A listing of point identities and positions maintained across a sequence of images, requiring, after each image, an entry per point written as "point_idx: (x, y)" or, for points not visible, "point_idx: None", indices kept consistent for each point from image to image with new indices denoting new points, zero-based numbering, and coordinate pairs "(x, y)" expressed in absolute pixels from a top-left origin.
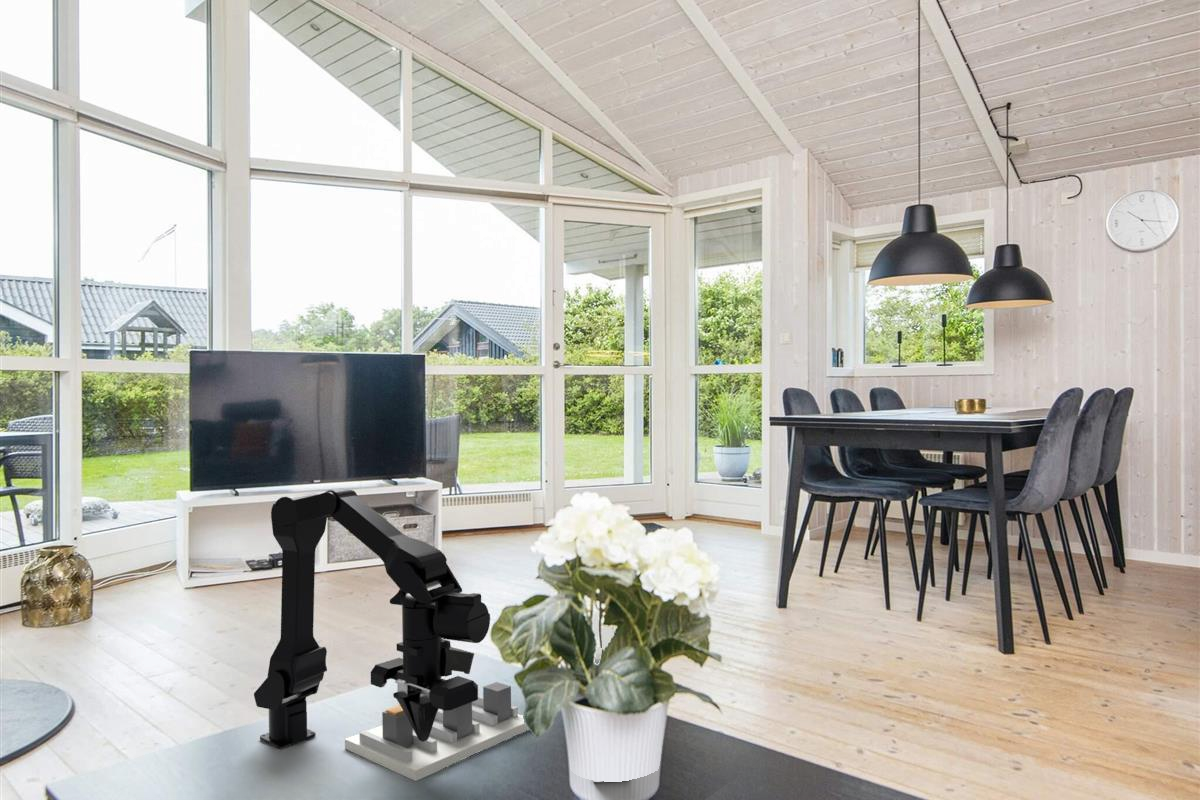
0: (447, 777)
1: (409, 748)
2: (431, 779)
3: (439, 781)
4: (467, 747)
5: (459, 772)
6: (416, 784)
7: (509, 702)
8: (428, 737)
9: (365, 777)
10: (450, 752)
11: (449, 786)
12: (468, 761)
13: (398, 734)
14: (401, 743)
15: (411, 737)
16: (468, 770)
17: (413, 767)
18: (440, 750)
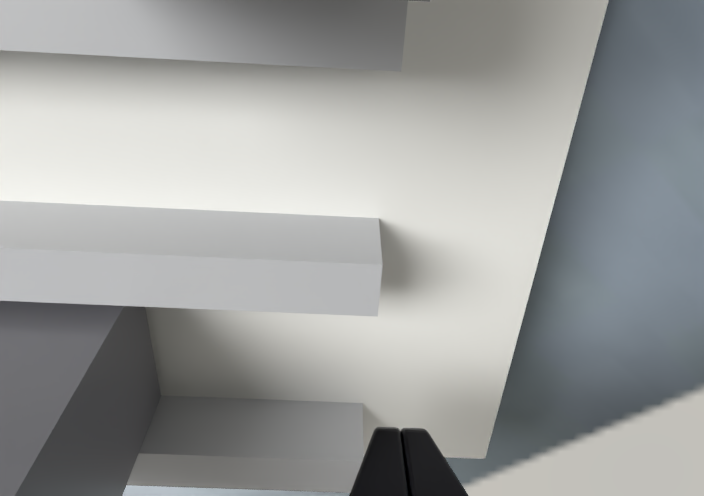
0: (615, 300)
1: (171, 309)
2: (538, 358)
3: (599, 351)
4: (593, 10)
5: (651, 218)
6: (502, 423)
7: None
8: (433, 443)
9: (220, 489)
10: (510, 183)
11: (693, 358)
12: (613, 51)
13: (117, 479)
14: (141, 390)
15: (120, 325)
16: (700, 164)
17: (442, 443)
18: (406, 207)
